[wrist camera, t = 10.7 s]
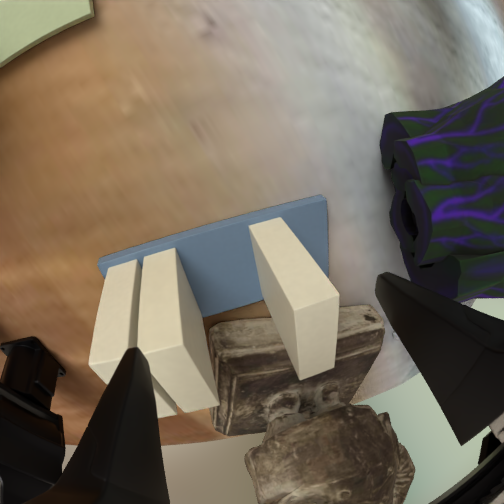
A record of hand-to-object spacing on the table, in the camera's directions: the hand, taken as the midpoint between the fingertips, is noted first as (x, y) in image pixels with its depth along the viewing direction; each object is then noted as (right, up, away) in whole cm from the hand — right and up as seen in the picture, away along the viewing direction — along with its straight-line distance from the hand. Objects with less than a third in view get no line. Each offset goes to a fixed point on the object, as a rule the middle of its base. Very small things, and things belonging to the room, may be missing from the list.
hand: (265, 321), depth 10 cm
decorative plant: (+21, +13, +14) cm, 28 cm away
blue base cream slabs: (-3, +1, +14) cm, 14 cm away
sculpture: (+3, -11, +23) cm, 26 cm away
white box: (+1, +2, +13) cm, 13 cm away
